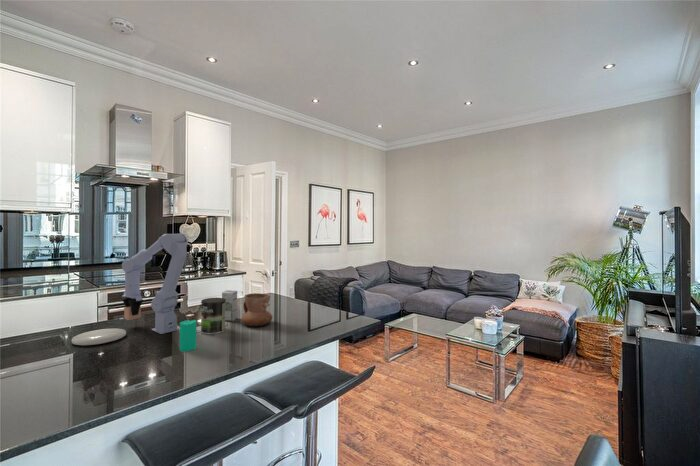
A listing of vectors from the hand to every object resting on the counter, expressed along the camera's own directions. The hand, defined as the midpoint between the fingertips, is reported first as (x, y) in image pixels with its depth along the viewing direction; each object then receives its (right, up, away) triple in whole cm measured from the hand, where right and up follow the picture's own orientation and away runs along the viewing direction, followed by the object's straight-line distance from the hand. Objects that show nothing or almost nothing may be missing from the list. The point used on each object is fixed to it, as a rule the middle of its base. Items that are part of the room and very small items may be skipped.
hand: (132, 314), depth 154 cm
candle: (+38, -7, -25) cm, 46 cm away
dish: (-3, -6, -17) cm, 18 cm away
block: (0, -2, 0) cm, 2 cm away
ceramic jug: (+55, -7, +8) cm, 56 cm away
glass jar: (+39, -7, -4) cm, 40 cm away
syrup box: (+40, -7, +14) cm, 43 cm away
